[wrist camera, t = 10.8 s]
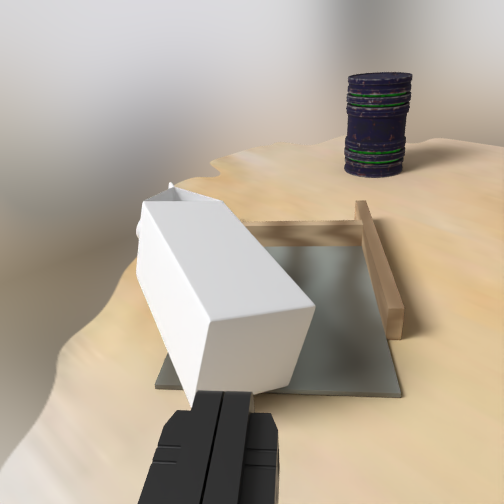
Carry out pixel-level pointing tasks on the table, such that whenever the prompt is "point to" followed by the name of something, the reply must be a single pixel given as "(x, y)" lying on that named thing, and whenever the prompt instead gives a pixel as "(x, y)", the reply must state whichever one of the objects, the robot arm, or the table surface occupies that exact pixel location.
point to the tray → (335, 306)
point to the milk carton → (218, 296)
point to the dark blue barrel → (376, 123)
